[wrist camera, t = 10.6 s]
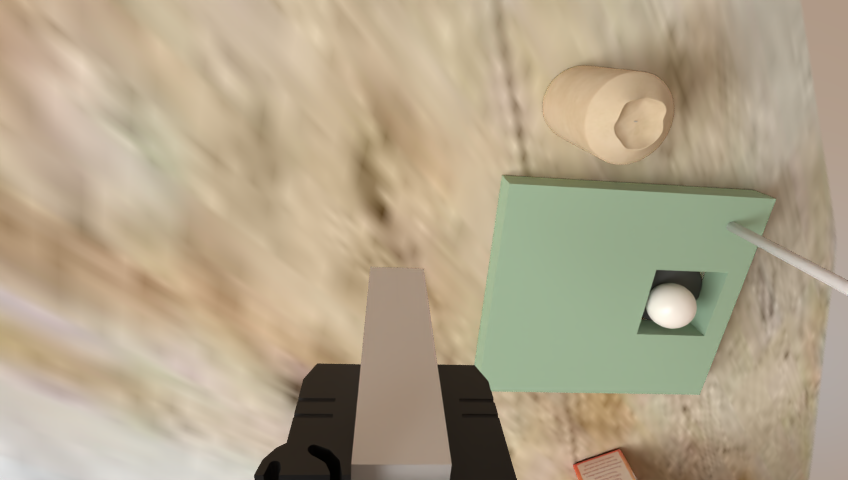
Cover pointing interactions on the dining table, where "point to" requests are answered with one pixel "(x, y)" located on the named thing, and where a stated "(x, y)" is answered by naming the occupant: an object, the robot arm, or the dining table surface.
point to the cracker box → (605, 468)
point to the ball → (671, 305)
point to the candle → (609, 111)
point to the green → (615, 282)
